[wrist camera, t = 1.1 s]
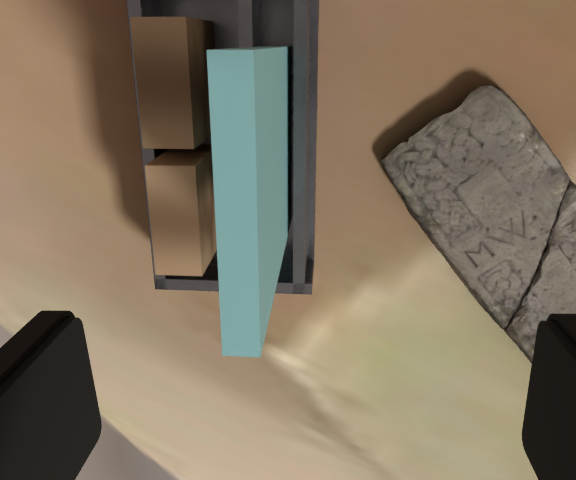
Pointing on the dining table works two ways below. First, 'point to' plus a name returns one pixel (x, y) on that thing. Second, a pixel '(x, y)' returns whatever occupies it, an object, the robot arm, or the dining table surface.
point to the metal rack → (304, 40)
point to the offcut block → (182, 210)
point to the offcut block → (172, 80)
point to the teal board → (250, 185)
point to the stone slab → (494, 209)
